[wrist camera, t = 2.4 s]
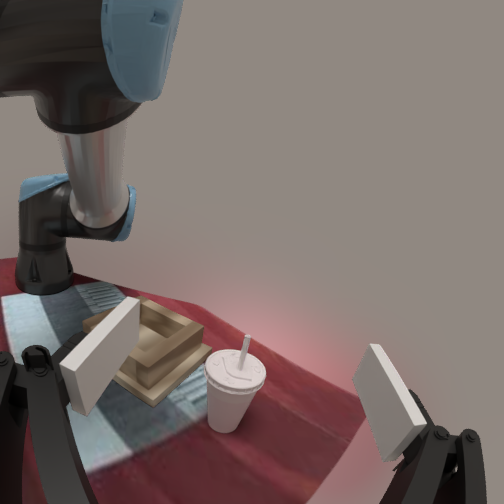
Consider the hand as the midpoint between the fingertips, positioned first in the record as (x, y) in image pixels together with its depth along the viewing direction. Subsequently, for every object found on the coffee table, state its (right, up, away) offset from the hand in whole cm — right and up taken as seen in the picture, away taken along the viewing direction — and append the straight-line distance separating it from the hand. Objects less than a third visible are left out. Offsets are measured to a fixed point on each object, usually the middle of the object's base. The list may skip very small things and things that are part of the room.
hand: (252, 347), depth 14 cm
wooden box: (-17, -10, +23) cm, 31 cm away
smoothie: (-4, -16, +15) cm, 22 cm away
